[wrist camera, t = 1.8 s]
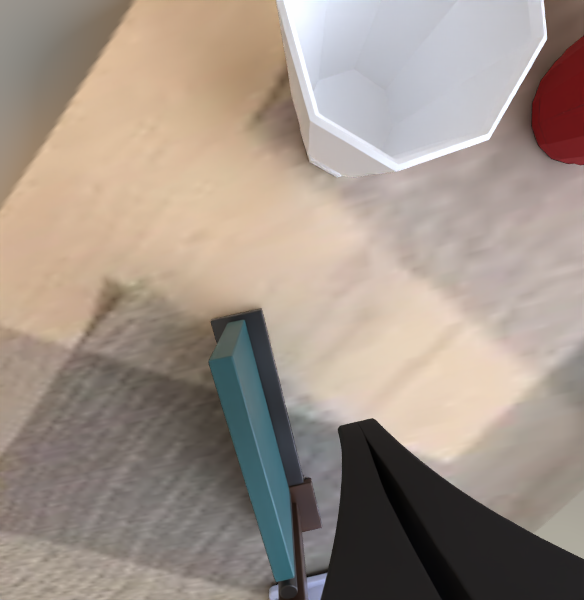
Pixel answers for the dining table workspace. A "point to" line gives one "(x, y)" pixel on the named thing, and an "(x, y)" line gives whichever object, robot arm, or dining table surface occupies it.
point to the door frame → (281, 448)
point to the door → (254, 443)
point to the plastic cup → (562, 108)
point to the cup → (403, 76)
